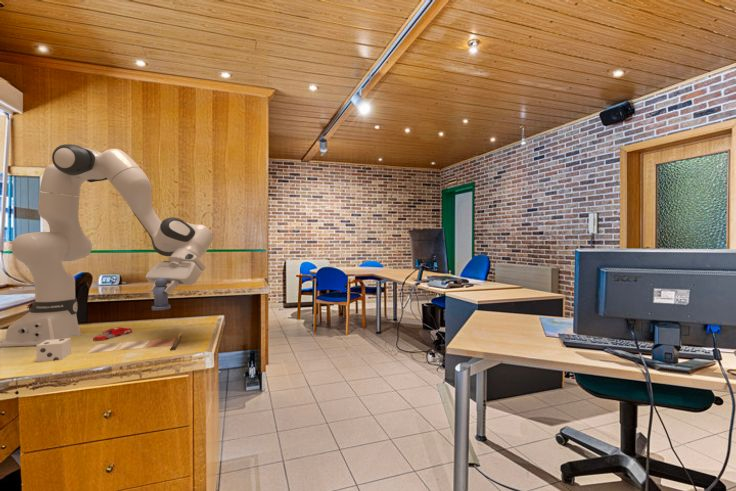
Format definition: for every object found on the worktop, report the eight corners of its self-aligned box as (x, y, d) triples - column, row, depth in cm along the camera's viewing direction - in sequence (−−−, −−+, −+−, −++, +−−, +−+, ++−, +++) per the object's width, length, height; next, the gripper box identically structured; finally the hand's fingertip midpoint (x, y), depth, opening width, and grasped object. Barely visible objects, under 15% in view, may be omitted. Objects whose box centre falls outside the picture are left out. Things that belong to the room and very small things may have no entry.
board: (79, 358, 108) (79, 354, 108) (93, 347, 120) (93, 344, 120) (175, 349, 117) (175, 346, 117) (180, 339, 129) (180, 336, 129)
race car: (100, 346, 122) (99, 334, 122) (88, 344, 124) (88, 333, 124) (135, 335, 135) (135, 325, 135) (124, 334, 137) (124, 324, 137)
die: (36, 366, 102) (36, 345, 102) (47, 359, 108) (46, 339, 108) (62, 363, 104) (62, 343, 104) (71, 357, 110) (71, 337, 110)
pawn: (150, 310, 117) (149, 278, 117) (153, 307, 123) (153, 277, 122) (169, 309, 119) (168, 278, 119) (172, 306, 125) (171, 276, 124)
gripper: (156, 255, 131) (130, 285, 122) (199, 256, 124) (176, 287, 115) (166, 266, 135) (143, 296, 126) (209, 267, 128) (187, 299, 119)
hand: (159, 292), depth 120 cm, fingers closed on pawn, 4 cm apart
